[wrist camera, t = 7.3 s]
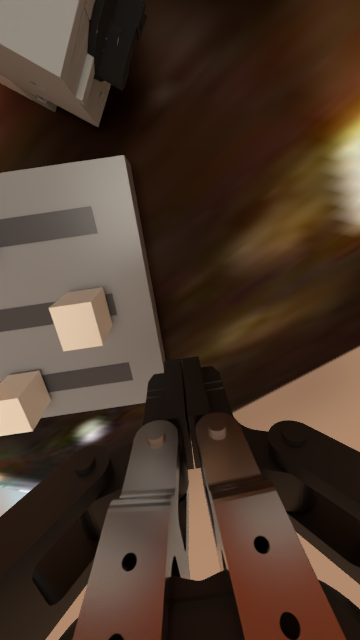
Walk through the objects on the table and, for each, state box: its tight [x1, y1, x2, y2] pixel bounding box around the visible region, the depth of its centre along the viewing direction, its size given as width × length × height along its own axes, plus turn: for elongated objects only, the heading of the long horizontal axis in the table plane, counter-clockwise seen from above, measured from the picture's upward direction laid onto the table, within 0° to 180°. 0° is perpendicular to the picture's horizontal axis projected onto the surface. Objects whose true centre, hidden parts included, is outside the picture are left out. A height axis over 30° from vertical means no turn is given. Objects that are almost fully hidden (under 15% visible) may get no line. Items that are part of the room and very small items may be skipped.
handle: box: [0, 371, 51, 436], centre depth 24 cm, size 3×4×4 cm
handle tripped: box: [49, 287, 112, 351], centre depth 21 cm, size 3×4×4 cm
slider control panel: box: [0, 155, 166, 418], centre depth 25 cm, size 18×22×4 cm
